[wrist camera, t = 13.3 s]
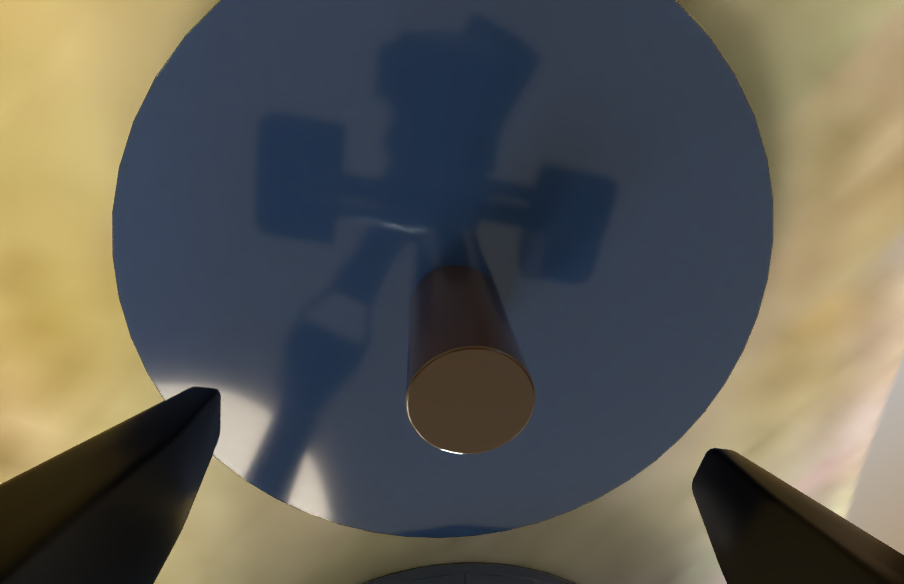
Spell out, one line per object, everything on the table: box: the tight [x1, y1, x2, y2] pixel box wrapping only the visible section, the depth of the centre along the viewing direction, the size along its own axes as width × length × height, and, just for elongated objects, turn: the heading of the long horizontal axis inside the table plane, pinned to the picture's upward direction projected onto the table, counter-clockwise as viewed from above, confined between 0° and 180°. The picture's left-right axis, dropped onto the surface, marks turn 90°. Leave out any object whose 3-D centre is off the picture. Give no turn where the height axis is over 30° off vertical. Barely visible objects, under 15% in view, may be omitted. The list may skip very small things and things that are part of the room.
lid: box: [112, 0, 773, 538], centre depth 12 cm, size 18×18×6 cm
